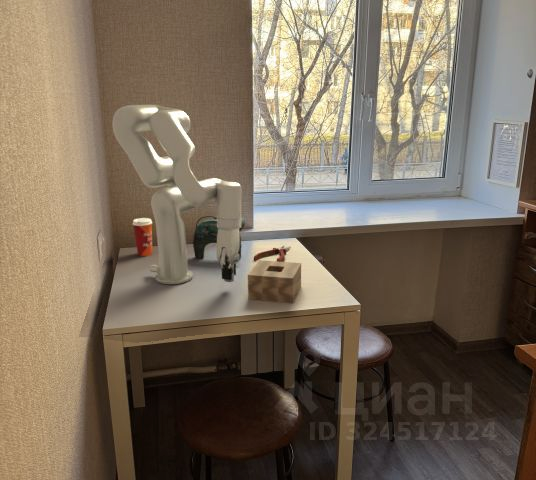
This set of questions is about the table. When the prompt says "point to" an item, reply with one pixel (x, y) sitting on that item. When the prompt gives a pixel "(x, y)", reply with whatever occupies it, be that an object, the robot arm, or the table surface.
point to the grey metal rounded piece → (232, 261)
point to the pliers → (280, 250)
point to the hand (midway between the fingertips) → (228, 276)
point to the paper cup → (143, 236)
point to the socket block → (274, 281)
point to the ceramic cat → (208, 235)
